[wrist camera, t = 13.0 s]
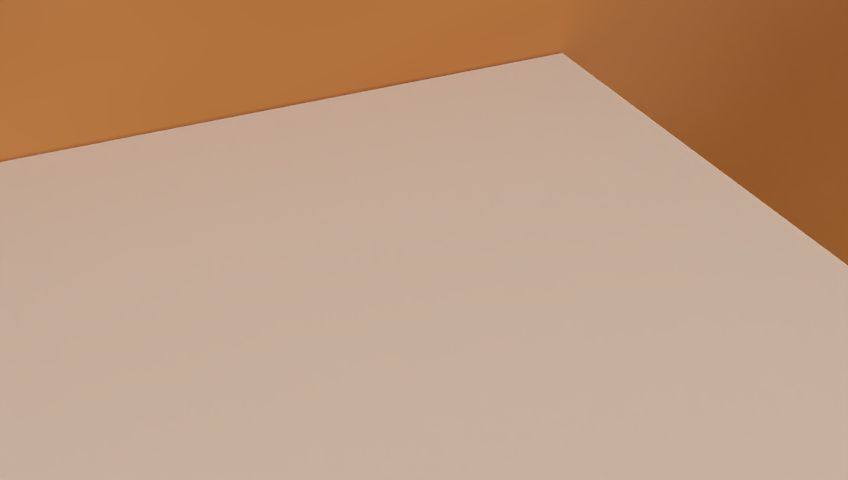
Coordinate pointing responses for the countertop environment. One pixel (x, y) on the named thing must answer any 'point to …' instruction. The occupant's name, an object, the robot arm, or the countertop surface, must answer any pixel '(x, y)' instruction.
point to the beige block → (414, 298)
